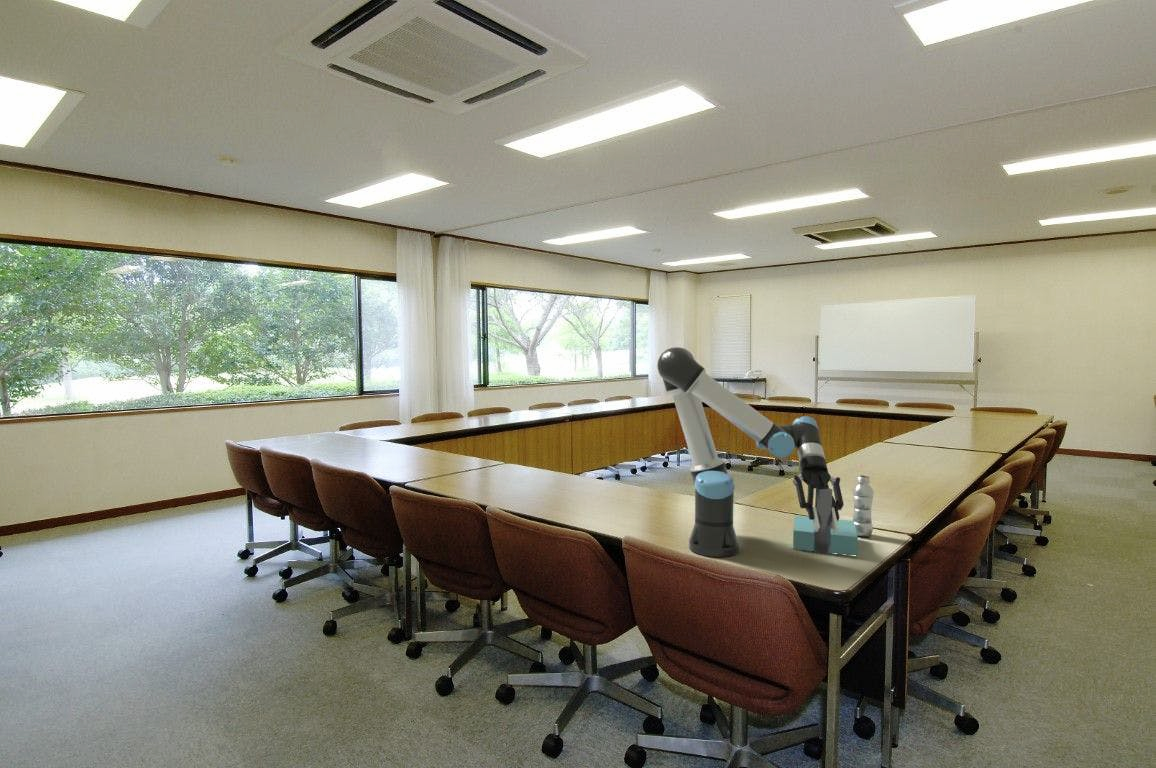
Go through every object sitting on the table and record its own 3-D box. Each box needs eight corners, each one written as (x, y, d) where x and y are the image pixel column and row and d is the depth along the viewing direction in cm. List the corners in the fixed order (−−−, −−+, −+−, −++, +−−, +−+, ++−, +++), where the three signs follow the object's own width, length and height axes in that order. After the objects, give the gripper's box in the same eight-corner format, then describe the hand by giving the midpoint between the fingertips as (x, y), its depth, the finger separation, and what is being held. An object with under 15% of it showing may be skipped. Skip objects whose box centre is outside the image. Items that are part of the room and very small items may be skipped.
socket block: (793, 549, 179) (793, 530, 178) (794, 532, 195) (794, 515, 195) (857, 556, 172) (857, 537, 171) (852, 538, 188) (853, 520, 188)
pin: (813, 551, 165) (815, 490, 164) (813, 546, 169) (815, 486, 168) (830, 553, 163) (832, 491, 162) (829, 549, 167) (832, 488, 166)
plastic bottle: (848, 535, 192) (849, 476, 191) (855, 531, 197) (857, 473, 196) (868, 540, 187) (870, 479, 186) (875, 535, 192) (877, 476, 191)
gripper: (838, 468, 179) (855, 537, 164) (781, 466, 181) (792, 534, 166) (845, 455, 174) (862, 525, 158) (785, 453, 176) (797, 521, 160)
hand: (826, 529), depth 162 cm, fingers closed on pin, 4 cm apart
